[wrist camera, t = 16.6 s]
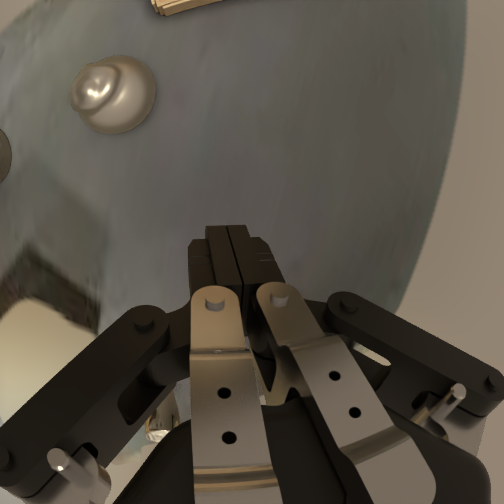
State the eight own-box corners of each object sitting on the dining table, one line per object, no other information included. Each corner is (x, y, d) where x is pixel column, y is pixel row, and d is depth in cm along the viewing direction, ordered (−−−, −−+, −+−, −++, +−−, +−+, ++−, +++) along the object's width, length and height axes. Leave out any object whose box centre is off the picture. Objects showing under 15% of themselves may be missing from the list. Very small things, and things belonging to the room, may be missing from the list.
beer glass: (136, 372, 60) (136, 436, 48) (160, 360, 59) (163, 426, 47) (158, 386, 64) (162, 446, 52) (182, 375, 63) (189, 437, 51)
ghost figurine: (131, 38, 28) (114, 30, 20) (172, 97, 34) (169, 108, 26) (71, 84, 29) (39, 93, 21) (113, 140, 35) (93, 165, 27)
